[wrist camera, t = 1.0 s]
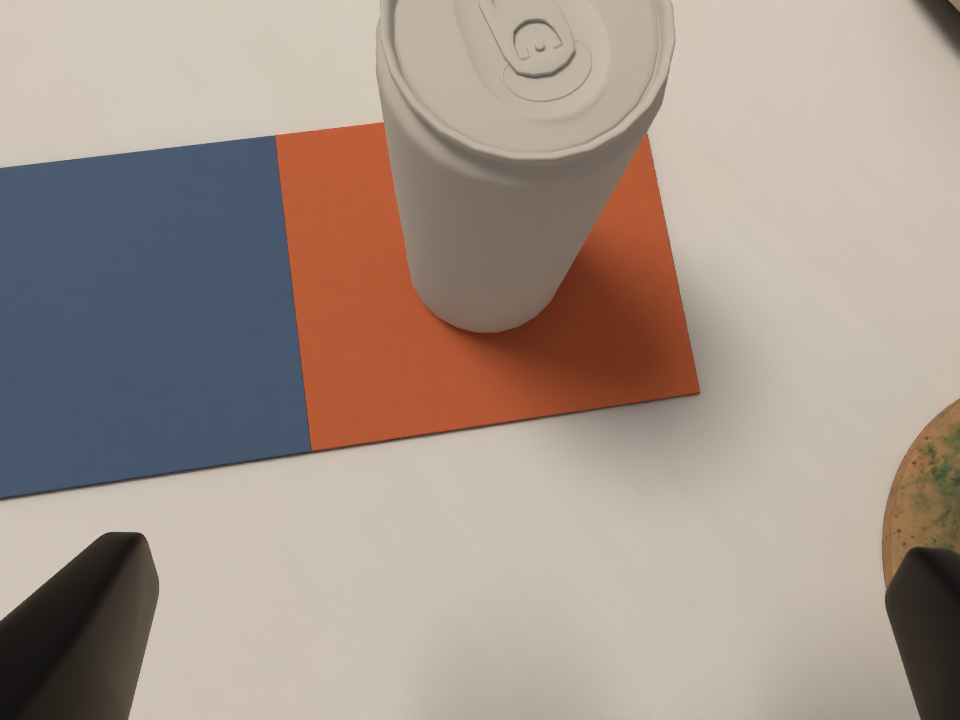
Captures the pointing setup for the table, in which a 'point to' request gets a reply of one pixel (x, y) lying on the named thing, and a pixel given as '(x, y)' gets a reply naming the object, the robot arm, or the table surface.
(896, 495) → the mug
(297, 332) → the sorting mat
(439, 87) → the beverage can
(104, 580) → the robot arm
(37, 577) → the table surface
